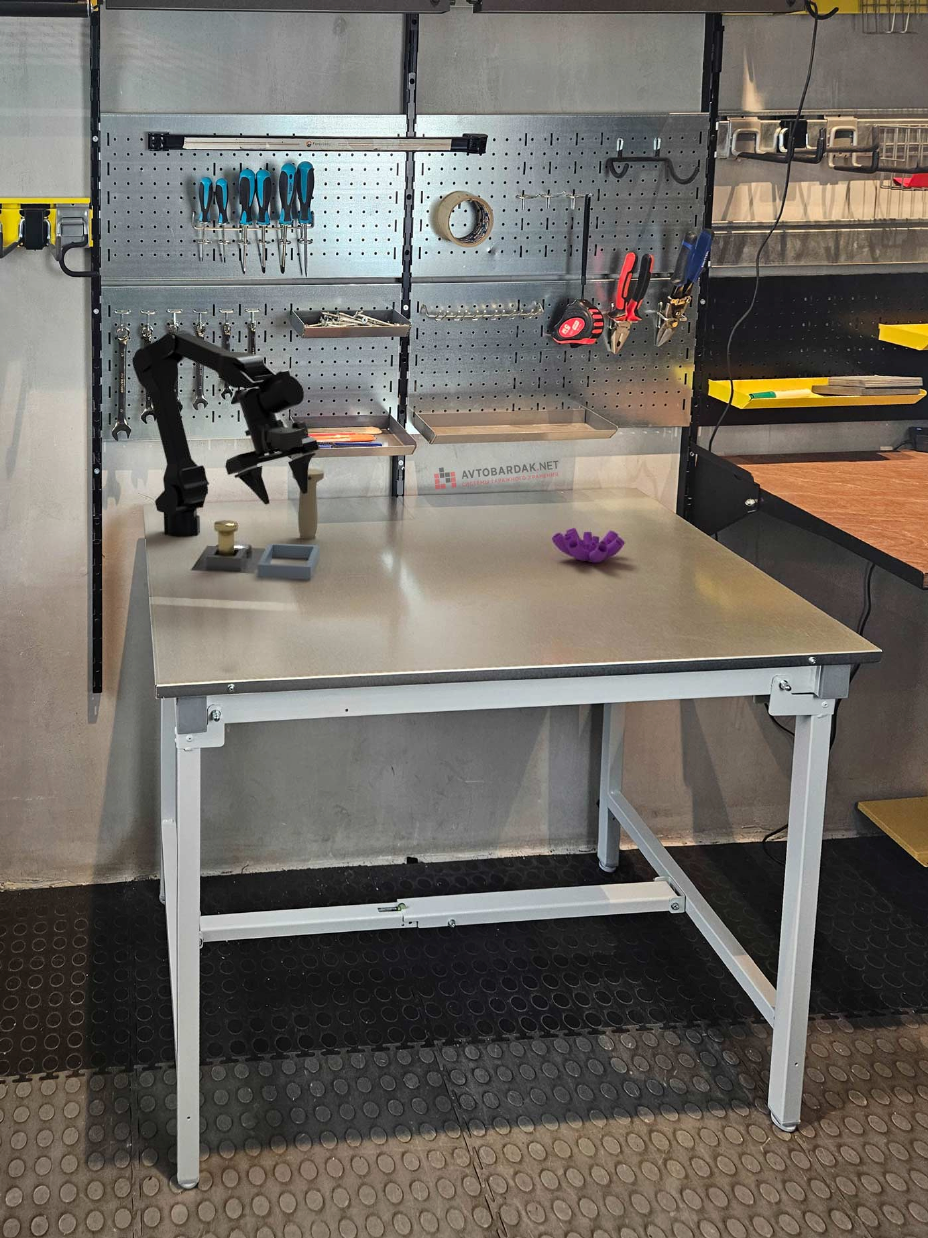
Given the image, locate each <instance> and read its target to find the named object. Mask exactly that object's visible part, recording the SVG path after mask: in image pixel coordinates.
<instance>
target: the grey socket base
mask: <svg viewBox="0 0 928 1238" xmlns="http://www.w3.org/2000/svg"><path fill="white" fill-rule="evenodd" d="M265 549H266V547H265V548H262V547H261V548H260V547H259V548H258V547H253V546H252V545H251V544H249V543H247V542H245V541H240V540H234V556H219V551H218V544H216V545H207V546H205V549H204V550H203V551H202V553H201V554H200V556H199V557H198V559H197V560H196V561H195V563H194V564H193V566H192V568H191V569H190V571H194V572H195V571H196V572H197V571H199V572H218V573H239V574H255V573H256V571H257V564H258V563H259V561H260V559H261V557H262V555H263V553H264V551H265Z"/></svg>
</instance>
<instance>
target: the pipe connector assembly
mask: <svg viewBox="0 0 928 1238" xmlns="http://www.w3.org/2000/svg"><path fill="white" fill-rule="evenodd" d="M551 541H552V543H553V544H554V546H555V547H556V548H557V549H558V550H559V551H561V552H562V553H564V554H566V555H567V556H570V557H573V558H574V559H576V560H579V561H582V562H585V561H591V562H592V563H601V562H602V561H603V560H606V559H609V558H611V557H613V556H616V554H617V553H619V552H620V551H621V549H622V548H623V547H624V546H625V544H626V542H625V540H623V538H622V537H619V534H618V533H617V532H615V531H613V530H609V531H608V532H607V533H606V534H605V535H604V537H603V538H602V539H601V541H600V536H598V535H592V532H591V531H584V532H583V535H582V538H581V537H580V534H579V533H578V531H577V529H576V527H573V528H569V529H567V530H566V532H565V533H564V534H562V533H561V532H557V533H555V534H554V535H552V537H551ZM591 562H590V563H591Z"/></svg>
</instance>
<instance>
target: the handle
mask: <svg viewBox="0 0 928 1238" xmlns="http://www.w3.org/2000/svg"><path fill="white" fill-rule="evenodd" d="M291 475H292V476H291V477H292V478H293V479H294V480H295V481H296V479H295V477H294V475H293V473H292V474H291ZM324 477H325V471H324V470H323V469H317V468H308V490H307V493H306V494H303V493H302V492H301V490H300V489H299V500H298V501H299V502H298V513H297V515H298V517H297V520H298V521H297V523H298V525H297V526H298V531H299V539H307V540H310V539H311V540H316V539H317V537H316V534H317V531H318V519H319V518H318V517H319V515H318V499H317V498H318V497H317V483H318V482H320V481H322V480H323V479H324Z"/></svg>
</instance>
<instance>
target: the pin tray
mask: <svg viewBox="0 0 928 1238" xmlns="http://www.w3.org/2000/svg"><path fill="white" fill-rule="evenodd" d="M273 558H294V559H308V560H307V561H306V564H287V563H271V562H272V559H273ZM319 558H320V545H317V544H316V545H315V544H313V545H312V544H293V543H292V544H291V543H275V542H272V543H271V542H268V543H267V546H266V547H265V551H264V553H263V555H262V557H261V559H260V561H259V563H258V564H257V569H256V571H257V578H270V579H271V578H275V579H276V578H277V579H290V580H291V579H295V580H311V579H312V577H313V575H314V572H315V569H316V567H317V565H318V561H319Z"/></svg>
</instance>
